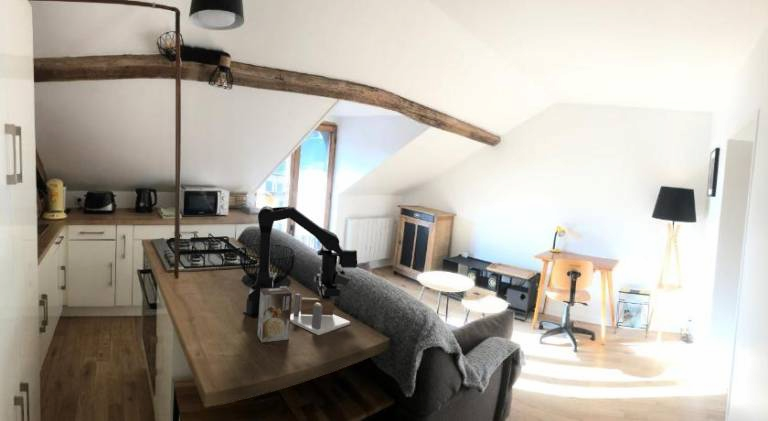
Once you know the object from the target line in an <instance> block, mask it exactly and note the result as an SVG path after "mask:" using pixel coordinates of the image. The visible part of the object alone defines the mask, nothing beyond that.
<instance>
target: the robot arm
mask: <svg viewBox="0 0 768 421" xmlns="http://www.w3.org/2000/svg"><path fill="white" fill-rule="evenodd" d="M257 219H258V227H259V231H260V232H259V233H260V235H259V236H260V238H259V239H260V240H259V260H258V272H257V275H256V279H255V283H254V284H253V285H251V287H250V288H249V290H248V295H247V297H246V308H245V310H243V311H242V312H243V313H244V314H245V315H247V316H250V317H251V318H259V305H260V289H264V288H274V275H275V274H274V272H271V271H270V260H271V259H270V258H271V238H272V230H273V227H274V223H275V222H278V221H281V220H286V219H291V221H293V222H294V223H295V224H296V225H298V226H300V227H301V228H302V229H304V230H305V231H307V232H308V233H310V234H311V235H312V236H314V237H315V238H316V239H317V240H318V242H319V243H320V245H322V246H323V247H324V248H325V249H324V248H323V247H321V248H319V250H317V252H316V253H317V255H318V256H321V262H320V263H321V264H320V267H319V268H318V269H319V272H320V273H316V274H315V275H314V276H313V277H314V278H313V281H314V282H315V283H319V285H317V286H316V288H317V289H318V293H319V296H320V298H331V297H341V296H342V290H341V289H340V288H339V286H338V284H339V285H342V286H344V287H348V286H349V284H350V282H351V278H350V277H349V276H348V275H347V274H346V273H345V271H344V270H343V269H339V271H338V270H337V264H338V266H339V265H340V268H344V269H357V267H358V251H357V249H343V247H342V246H341V245H340V239H339V237H338V235H337V234H335V232H332V231H330V230H329V229H326V228H323V227H322V226H319V225H318V224H317V223H315V222H314V221H312V220H311V219H310V218H309V217H307V216H306V215H305V214H303V213H302V212H301V211H299V210H298V209H297V208H296V207H295V206H293V205H288V206H281V207H280V206H279V207H278V206H277V207H271V206H268V205H267V206H266V205H265V206H263V207H262V208H260V209H259V212H258V213H257Z"/></svg>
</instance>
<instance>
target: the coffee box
mask: <svg viewBox="0 0 768 421" xmlns="http://www.w3.org/2000/svg"><path fill="white" fill-rule="evenodd" d="M292 298H293V293H292V291H291V290H290V289H289V288H288V287H285V286H284V287H273V288H264V289H260V305H259V316H258V321H257V322H258V323H257V336H258V338H259V340H260V342H261V343H268V342H277V341H278V342H279V341H287V340H289V339H290V330H291V329H290V328H291V322H290V316H291V314H292V302H293V300H292Z"/></svg>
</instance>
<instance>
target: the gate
mask: <svg viewBox="0 0 768 421" xmlns="http://www.w3.org/2000/svg"><path fill="white" fill-rule="evenodd" d="M300 301H301V302H300V305H301V306H300V311H301V315H313V306H314V305H315V303H317V302H318V303H320V304H321V306H322V307H323V308H322V315H331V316H333V314H334V308H335V298H331V297H330V298H321V297H301V298H300Z"/></svg>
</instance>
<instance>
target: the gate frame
mask: <svg viewBox="0 0 768 421" xmlns="http://www.w3.org/2000/svg"><path fill="white" fill-rule="evenodd" d="M301 296H302V295H301V293H295V294H294V303H293V304H294V305H293V313H291V316H290V323H292V324H293V325H296V326H298V327H300V328H302V329H304V330H307V331H309V332H311V333H313V334H316V335H317V336H321V335H323V334H327V333H329V332H331V331H334V330H337V329H340V328H343V327H345V326H348V325H350V324H351V321H350V320H348V319H345V318H343V317H340V316H338V315H336V314H334V313H333V316H331V315H322V308H323V307H322V306H321V304H320V303H318V302H317V303H315V305H314V306H313V315H301V306H300V305H301V298H302V297H301Z"/></svg>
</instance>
